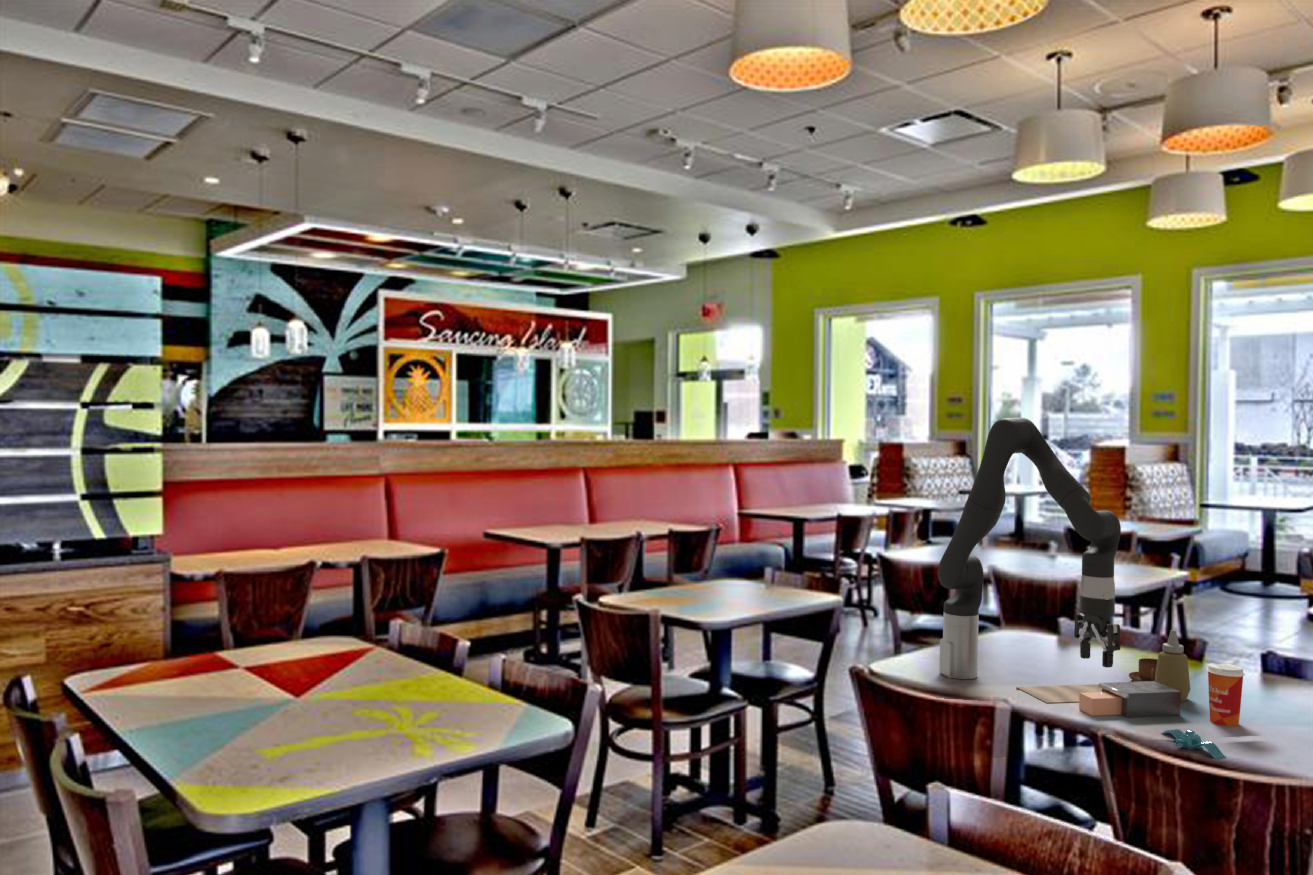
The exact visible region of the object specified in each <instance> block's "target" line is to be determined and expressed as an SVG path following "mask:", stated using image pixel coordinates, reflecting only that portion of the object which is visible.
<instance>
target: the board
mask: <svg viewBox="0 0 1313 875" xmlns="http://www.w3.org/2000/svg"><path fill="white" fill-rule="evenodd" d="M1098 684H1099V683H1095V684H1073V685H1072V684H1068V685H1064V684H1063V685H1041V686H1040V685H1037V686H1034V685H1033V686H1016V687H1015V688H1016V691H1022V692H1024V693H1025V694H1028V695H1029V696H1031V697H1033V698H1035V699H1037V700H1039V701H1041V702H1042V703H1044V704H1072V703H1073V704H1074V703H1077V704H1079V693H1088V692H1102V688H1100V687H1099V686H1098Z"/></svg>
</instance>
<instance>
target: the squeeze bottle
mask: <svg viewBox="0 0 1313 875" xmlns="http://www.w3.org/2000/svg"><path fill="white" fill-rule="evenodd" d="M1184 648H1185V647H1184V645H1182V644H1180V642H1179V639H1178V634H1177V630H1175V629H1171V630H1170V632H1169V636H1168V639H1167V642H1165V643H1162V651H1160V652H1159V653H1157V654H1158V656H1157V659H1158V661H1157V668H1156V675H1155V682H1157V683H1160V684H1162V685H1165V686H1167V687H1170V688H1173V689H1175V690H1178V691H1180V692H1181V700H1180V702H1185V701H1187V699H1188V697H1189V694H1190V692H1191V683H1190V682H1191V681H1190V680H1191V679H1190V672H1189V671H1190V670H1189V659H1188V656H1187V655H1186V654H1185V653H1184Z"/></svg>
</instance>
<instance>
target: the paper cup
mask: <svg viewBox="0 0 1313 875" xmlns="http://www.w3.org/2000/svg"><path fill="white" fill-rule="evenodd" d="M1207 666H1208V667H1207V668H1206V670H1205V671H1207V684H1208V708H1209V709H1208V710H1209V721H1210V722H1211V723H1212V724H1216V725H1219V726H1222V727H1223V726H1224V727H1238V726H1239V725H1240V716H1241V705H1242V694H1243V682H1244V676H1245V675H1246V674H1245V672H1244V669H1243V667H1241V666H1238V665H1236V664H1231V663H1230V664H1229V663H1223V662H1221V663H1218V662H1217V663H1216V662H1215V663H1212V662H1211V663H1209V664H1208V665H1207Z"/></svg>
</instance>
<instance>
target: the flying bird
mask: <svg viewBox="0 0 1313 875" xmlns="http://www.w3.org/2000/svg"><path fill="white" fill-rule="evenodd" d="M1160 735H1172V736H1173V737H1174V739H1175V742H1176V747H1177V746H1178V747H1181V748H1185V749H1188V750H1197V749H1198V750H1199V749H1202V747H1204V748H1205V749H1206V751H1208V753H1209V754H1210V756H1211V757H1212V758H1213V759H1215V760H1221V759H1226V758H1227V756H1226V755H1225V754H1223V752H1222V751H1221V750H1220V748H1219V747H1218V746H1217V745H1216V744H1215V743H1214V742H1212V741H1204V742H1203V741H1202V739H1201V736H1200V735H1199V734H1198V733H1196V731H1194V730H1192V729H1186V730H1185V732H1183V731H1182V730H1181V729H1178V728H1176V729H1175V728H1174V729H1168V730H1164V731H1163V732H1160Z"/></svg>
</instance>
